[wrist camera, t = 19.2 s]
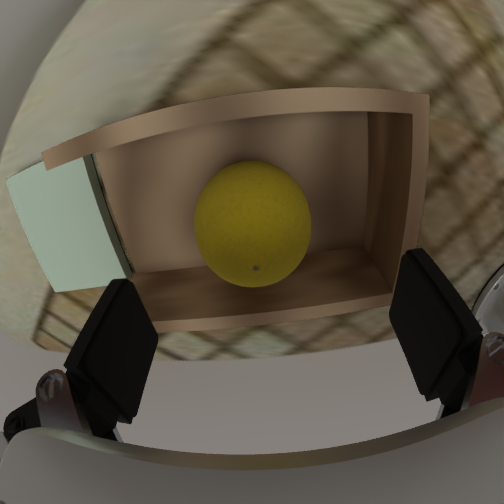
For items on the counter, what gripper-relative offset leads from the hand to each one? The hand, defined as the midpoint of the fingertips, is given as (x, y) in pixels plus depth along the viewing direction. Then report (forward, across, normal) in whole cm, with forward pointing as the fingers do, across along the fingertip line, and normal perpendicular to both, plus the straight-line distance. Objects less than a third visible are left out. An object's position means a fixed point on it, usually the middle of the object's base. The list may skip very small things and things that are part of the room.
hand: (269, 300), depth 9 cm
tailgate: (+9, +11, -1) cm, 14 cm away
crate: (+10, +1, -1) cm, 10 cm away
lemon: (+9, +1, -1) cm, 9 cm away
